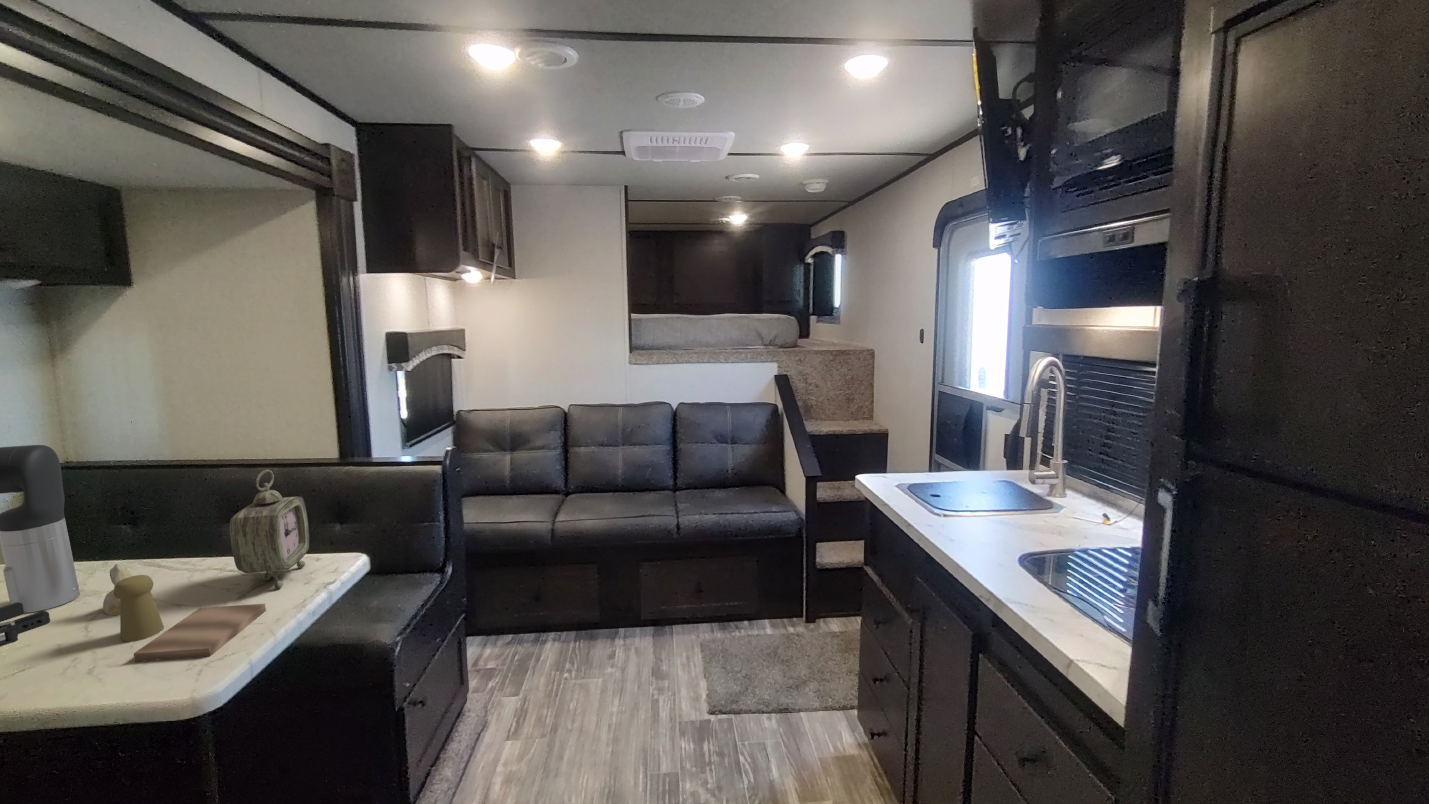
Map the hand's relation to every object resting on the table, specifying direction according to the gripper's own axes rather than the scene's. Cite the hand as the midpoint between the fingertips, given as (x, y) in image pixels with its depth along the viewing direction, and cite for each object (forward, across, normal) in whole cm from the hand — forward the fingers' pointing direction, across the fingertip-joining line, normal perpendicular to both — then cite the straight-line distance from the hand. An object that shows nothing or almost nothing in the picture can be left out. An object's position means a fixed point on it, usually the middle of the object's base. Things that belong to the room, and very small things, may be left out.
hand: (35, 611), depth 101 cm
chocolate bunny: (+17, +15, +11) cm, 25 cm away
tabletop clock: (+37, -1, +10) cm, 39 cm away
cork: (+13, 0, +11) cm, 17 cm away
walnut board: (+17, -12, +11) cm, 23 cm away
